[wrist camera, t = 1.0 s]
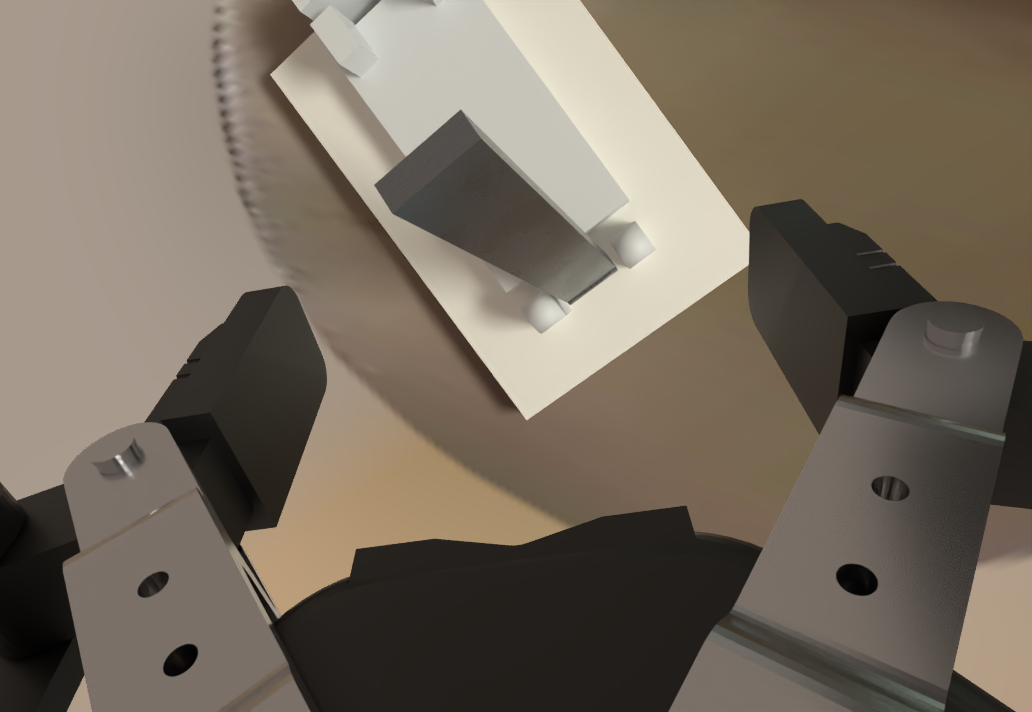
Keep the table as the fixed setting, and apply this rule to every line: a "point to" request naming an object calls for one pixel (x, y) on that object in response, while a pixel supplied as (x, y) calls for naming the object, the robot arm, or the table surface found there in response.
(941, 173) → the table surface
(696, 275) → the stand
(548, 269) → the bar
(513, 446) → the table surface
